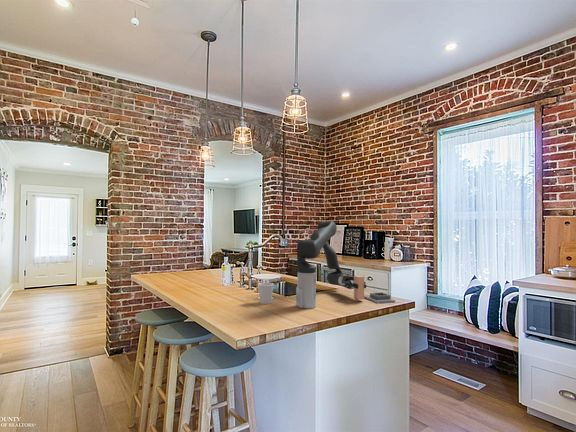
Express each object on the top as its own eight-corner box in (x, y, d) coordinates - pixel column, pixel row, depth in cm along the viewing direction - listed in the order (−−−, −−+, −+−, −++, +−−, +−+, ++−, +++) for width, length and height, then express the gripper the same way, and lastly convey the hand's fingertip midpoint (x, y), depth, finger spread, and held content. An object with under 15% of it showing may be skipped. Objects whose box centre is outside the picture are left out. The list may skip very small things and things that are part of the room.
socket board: (377, 303, 176) (377, 297, 176) (362, 297, 190) (362, 292, 190) (395, 302, 179) (395, 296, 179) (379, 296, 193) (379, 291, 193)
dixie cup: (274, 301, 178) (274, 282, 179) (272, 304, 170) (272, 285, 170) (259, 300, 179) (259, 282, 180) (256, 304, 171) (256, 284, 171)
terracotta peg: (357, 299, 178) (357, 277, 179) (353, 298, 182) (354, 275, 182) (364, 299, 179) (364, 276, 180) (360, 297, 183) (360, 275, 184)
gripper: (336, 275, 193) (349, 279, 176) (358, 274, 197) (373, 279, 180) (335, 288, 192) (349, 294, 176) (357, 287, 197) (373, 292, 180)
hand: (361, 286), depth 178 cm, fingers closed on terracotta peg, 4 cm apart
